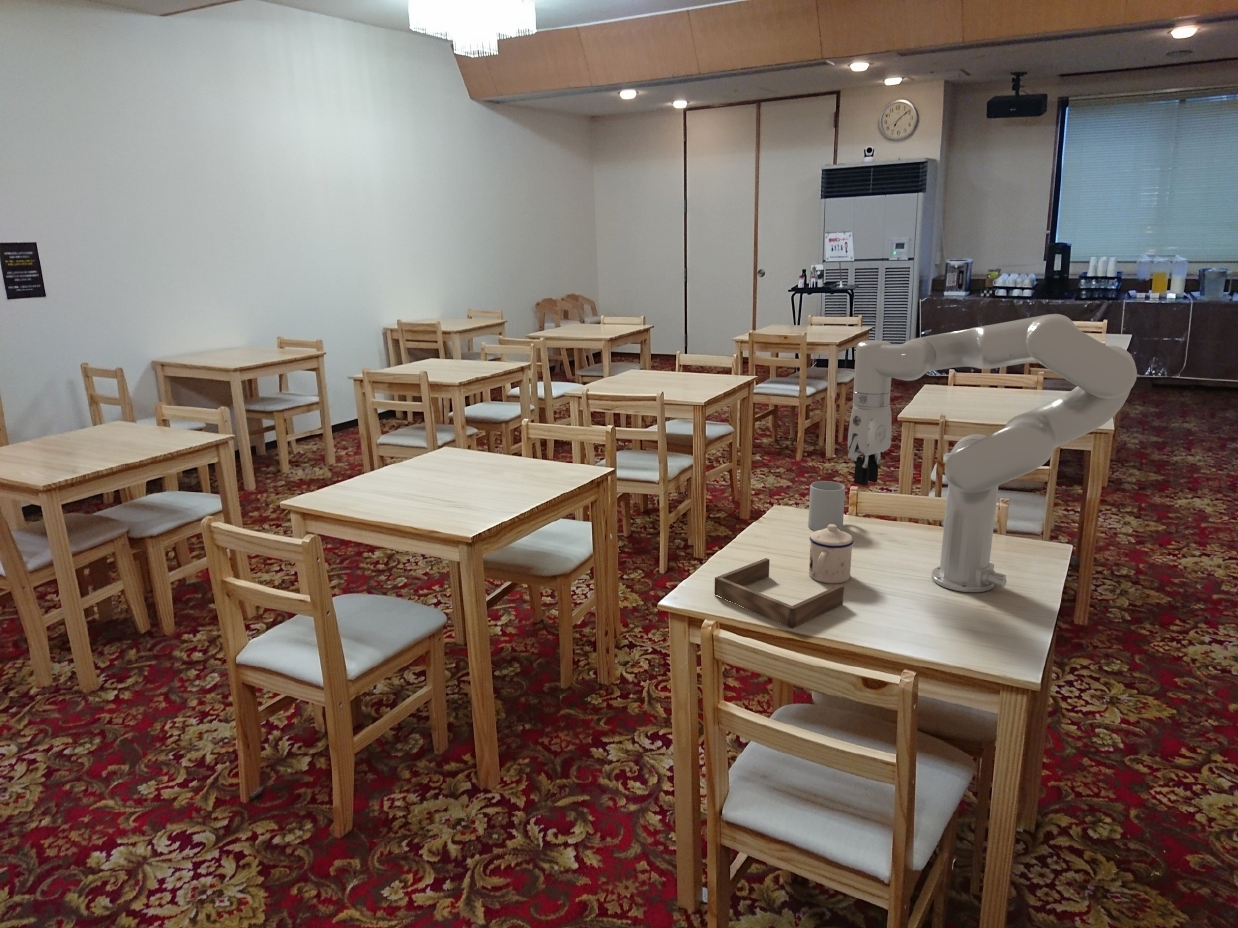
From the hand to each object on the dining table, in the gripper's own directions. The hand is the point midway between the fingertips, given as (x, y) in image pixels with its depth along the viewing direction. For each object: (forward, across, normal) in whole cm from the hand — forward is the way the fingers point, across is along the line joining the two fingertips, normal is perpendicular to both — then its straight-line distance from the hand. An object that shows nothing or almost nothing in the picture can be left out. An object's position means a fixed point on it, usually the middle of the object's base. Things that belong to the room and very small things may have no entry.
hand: (865, 481), depth 185 cm
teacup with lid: (+19, -12, 0) cm, 23 cm away
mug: (+19, +16, +20) cm, 32 cm away
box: (+19, -28, 0) cm, 34 cm away
